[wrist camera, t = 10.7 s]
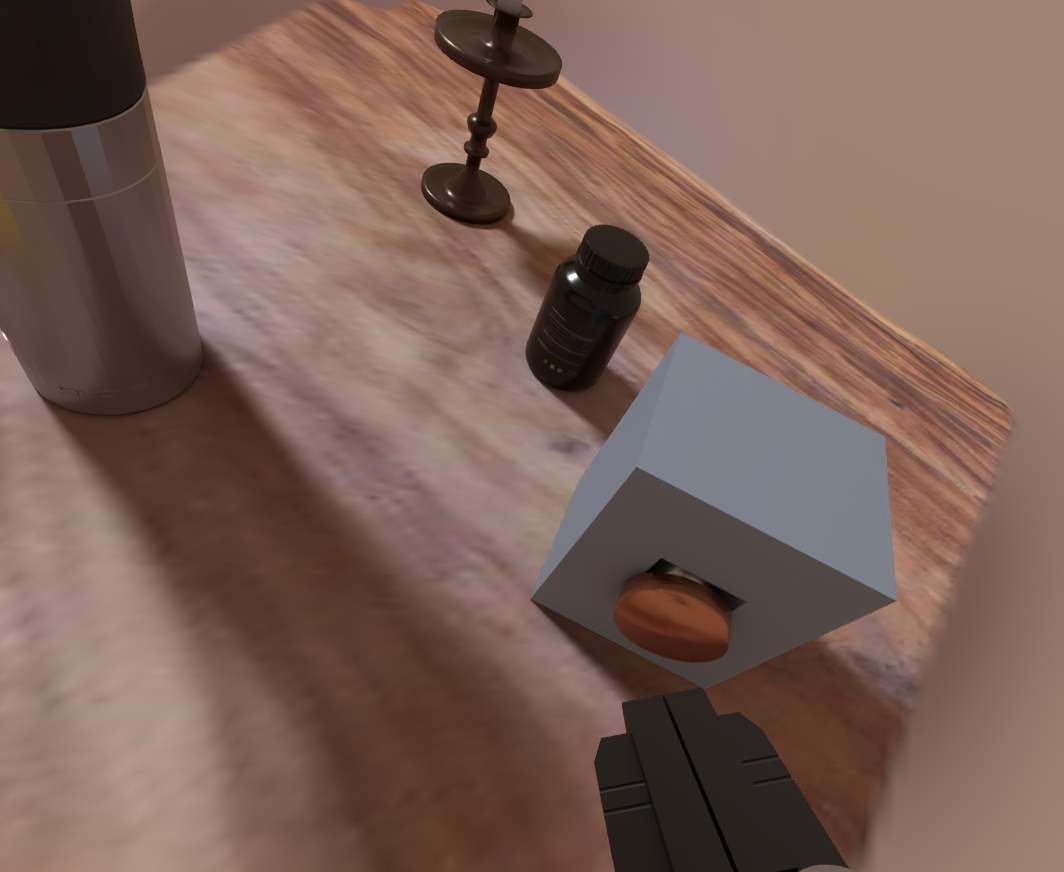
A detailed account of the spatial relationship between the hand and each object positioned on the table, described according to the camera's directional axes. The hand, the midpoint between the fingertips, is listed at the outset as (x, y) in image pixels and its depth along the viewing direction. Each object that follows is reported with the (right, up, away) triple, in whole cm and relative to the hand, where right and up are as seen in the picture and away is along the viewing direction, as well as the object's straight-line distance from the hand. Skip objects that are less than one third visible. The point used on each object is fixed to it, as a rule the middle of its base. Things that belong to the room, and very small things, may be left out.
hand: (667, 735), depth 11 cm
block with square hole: (+5, -4, +28) cm, 28 cm away
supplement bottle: (0, +12, +38) cm, 40 cm away
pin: (+7, +1, +26) cm, 27 cm away
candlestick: (-9, +30, +48) cm, 58 cm away
